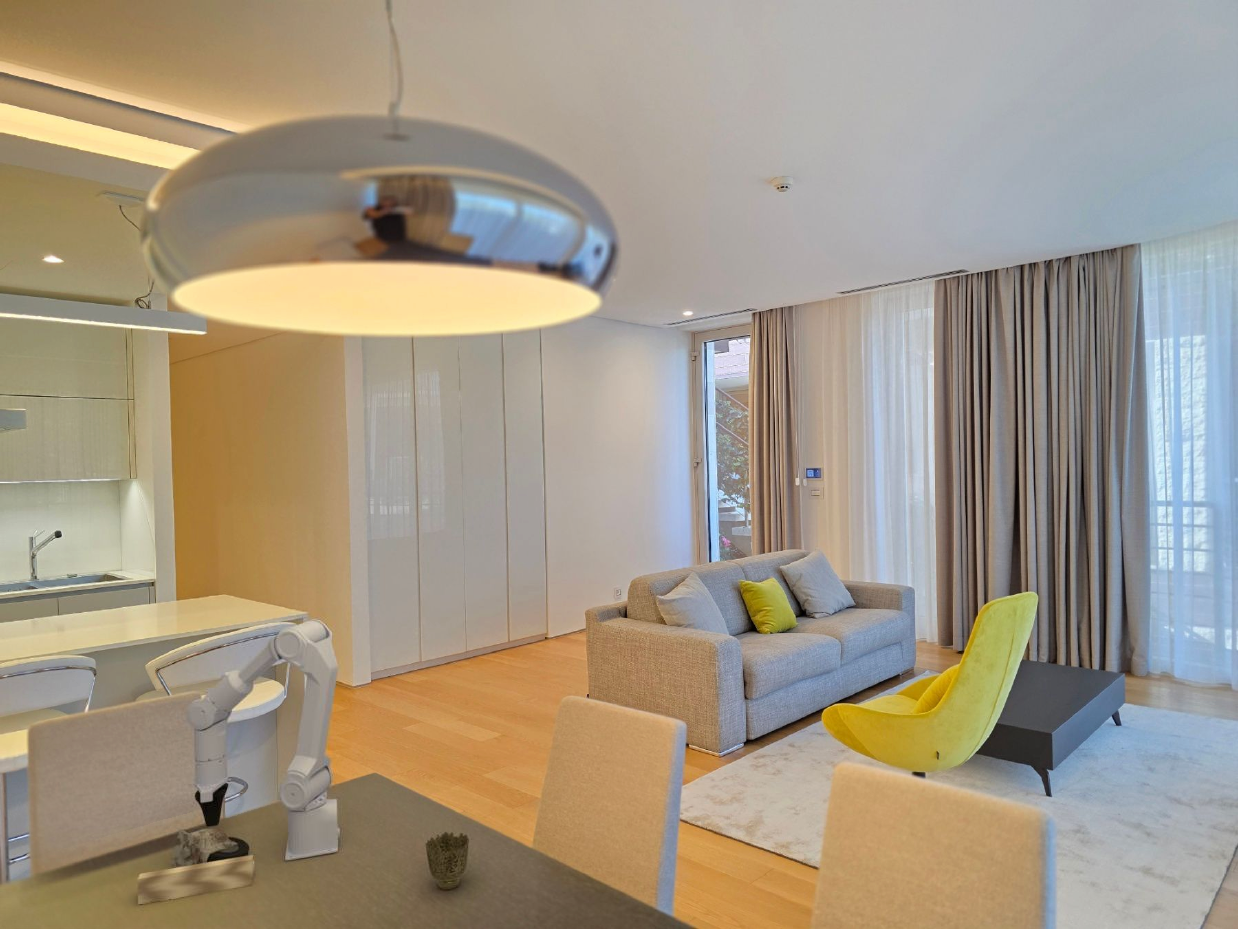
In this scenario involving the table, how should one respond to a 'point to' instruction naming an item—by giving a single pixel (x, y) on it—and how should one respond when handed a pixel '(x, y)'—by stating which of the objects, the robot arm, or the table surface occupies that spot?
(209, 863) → the bar
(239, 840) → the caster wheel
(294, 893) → the table surface
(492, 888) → the table surface
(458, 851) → the cup
